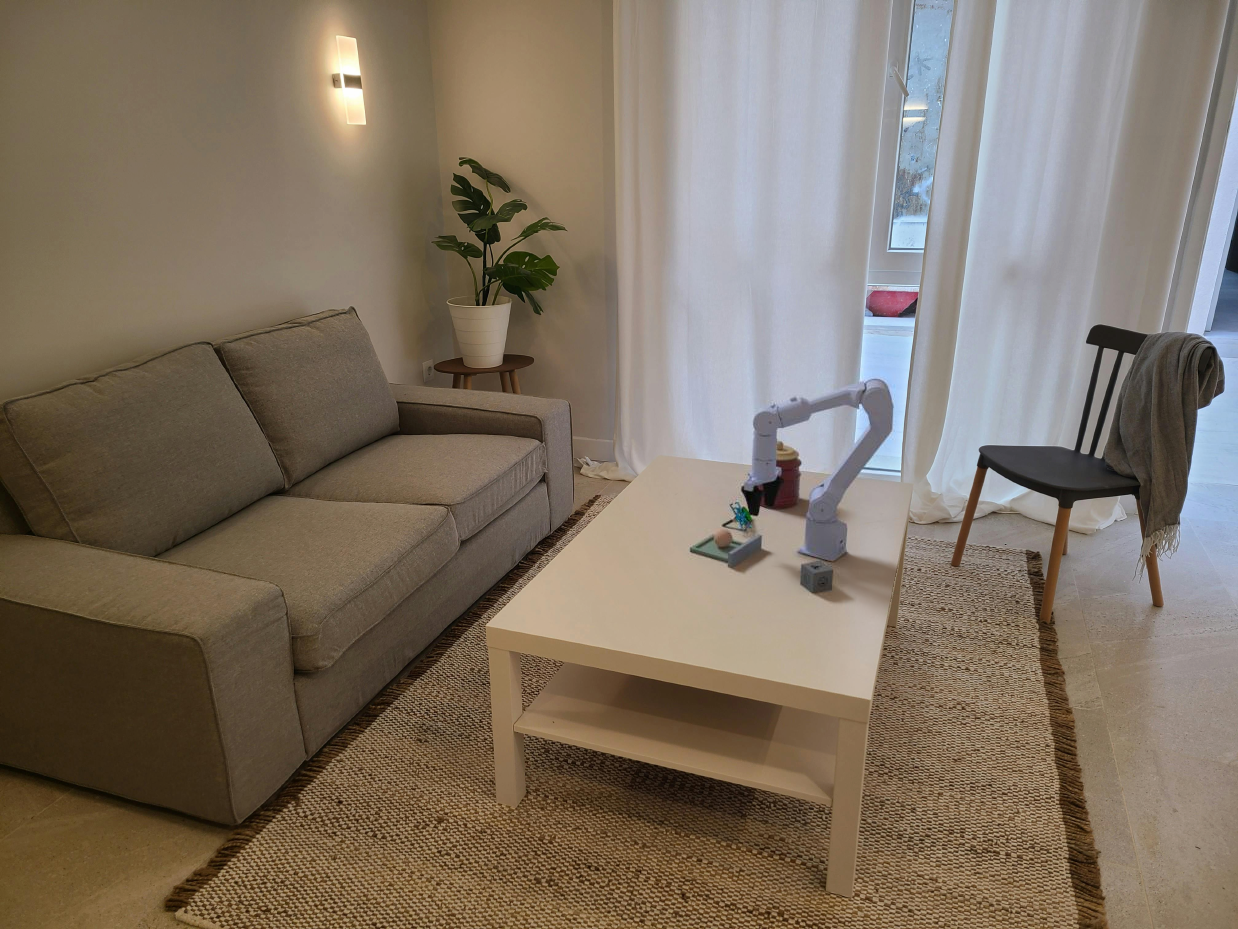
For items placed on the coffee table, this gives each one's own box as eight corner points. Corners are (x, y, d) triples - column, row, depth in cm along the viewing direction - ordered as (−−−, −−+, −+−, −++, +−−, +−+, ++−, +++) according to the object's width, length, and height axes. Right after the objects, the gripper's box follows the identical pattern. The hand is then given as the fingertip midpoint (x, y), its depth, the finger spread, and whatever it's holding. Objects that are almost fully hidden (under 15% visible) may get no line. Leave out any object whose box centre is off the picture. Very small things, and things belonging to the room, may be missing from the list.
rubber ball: (732, 551, 210) (737, 533, 211) (724, 547, 207) (729, 529, 207) (716, 546, 213) (722, 529, 214) (708, 542, 210) (713, 525, 210)
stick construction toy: (748, 528, 217) (734, 500, 219) (725, 540, 220) (711, 513, 221) (760, 524, 228) (746, 498, 230) (737, 536, 231) (724, 510, 232)
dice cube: (800, 584, 192) (801, 564, 191) (819, 580, 194) (820, 560, 193) (812, 594, 188) (813, 573, 186) (831, 590, 190) (833, 569, 188)
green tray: (749, 548, 211) (750, 544, 211) (727, 562, 203) (727, 558, 203) (713, 537, 217) (713, 534, 217) (689, 551, 209) (689, 547, 209)
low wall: (761, 548, 211) (761, 535, 210) (731, 567, 201) (731, 553, 199) (757, 547, 212) (758, 534, 210) (727, 566, 201) (728, 552, 200)
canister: (748, 506, 238) (751, 445, 232) (755, 491, 249) (758, 432, 244) (796, 511, 234) (800, 449, 228) (801, 495, 246) (805, 436, 240)
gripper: (764, 447, 213) (761, 498, 217) (733, 461, 202) (731, 515, 206) (790, 452, 209) (786, 504, 213) (760, 467, 198) (757, 522, 202)
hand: (761, 510), depth 209 cm, fingers open, 7 cm apart
